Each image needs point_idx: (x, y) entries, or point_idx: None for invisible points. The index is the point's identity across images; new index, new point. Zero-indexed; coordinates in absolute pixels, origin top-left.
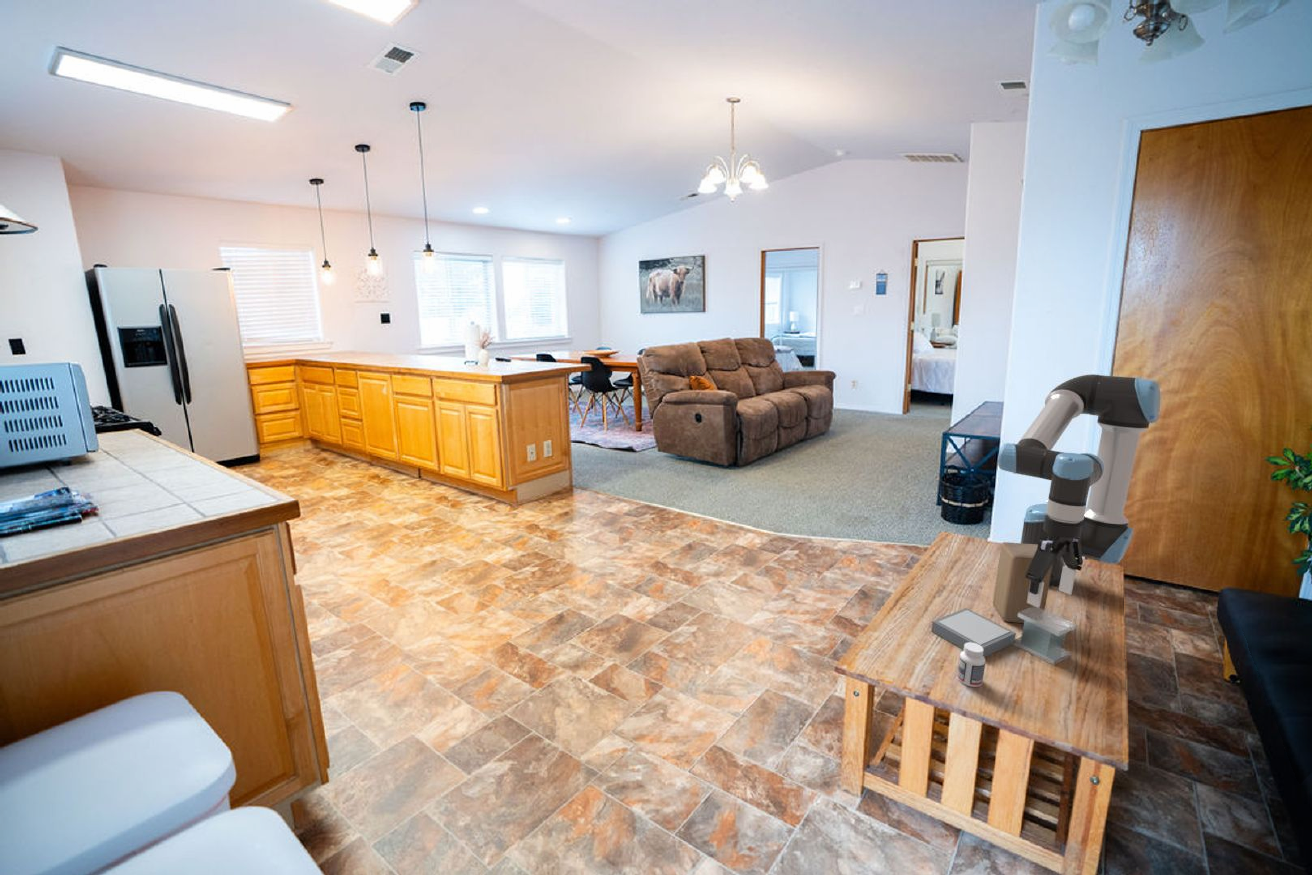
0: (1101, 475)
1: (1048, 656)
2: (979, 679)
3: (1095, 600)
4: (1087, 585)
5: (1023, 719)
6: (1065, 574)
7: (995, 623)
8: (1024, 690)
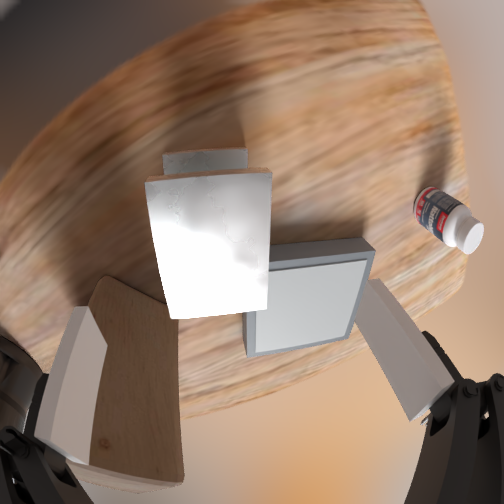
0: None
1: (240, 168)
2: (444, 192)
3: None
4: None
5: (450, 104)
6: (81, 419)
7: None
8: (393, 133)
